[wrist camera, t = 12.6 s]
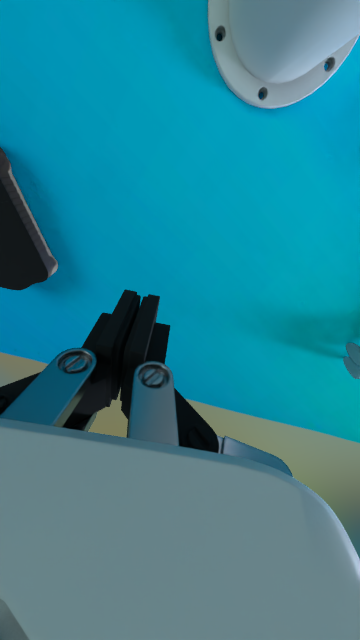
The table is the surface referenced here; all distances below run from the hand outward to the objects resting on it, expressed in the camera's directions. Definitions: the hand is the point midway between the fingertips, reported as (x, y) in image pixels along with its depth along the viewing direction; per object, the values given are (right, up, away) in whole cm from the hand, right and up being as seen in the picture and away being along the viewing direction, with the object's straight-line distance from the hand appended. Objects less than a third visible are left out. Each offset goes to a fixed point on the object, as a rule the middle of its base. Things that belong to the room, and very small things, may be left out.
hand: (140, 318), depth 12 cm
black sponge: (-20, +13, +18) cm, 30 cm away
